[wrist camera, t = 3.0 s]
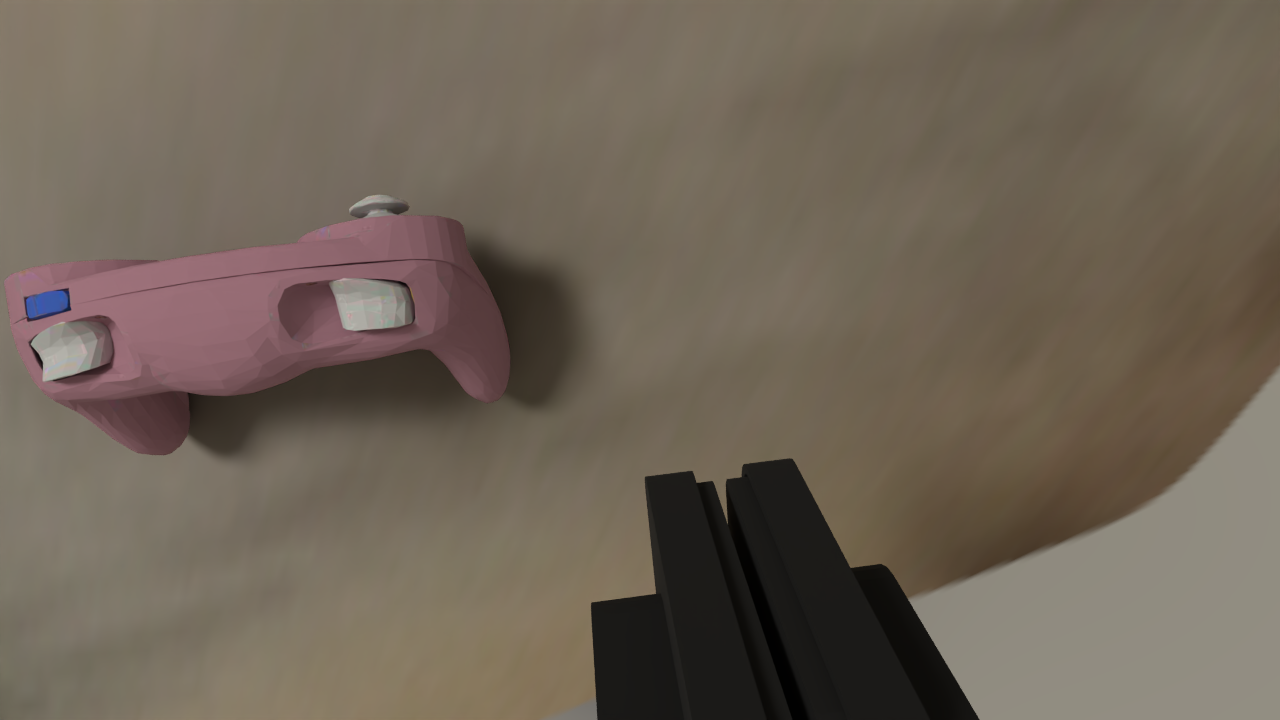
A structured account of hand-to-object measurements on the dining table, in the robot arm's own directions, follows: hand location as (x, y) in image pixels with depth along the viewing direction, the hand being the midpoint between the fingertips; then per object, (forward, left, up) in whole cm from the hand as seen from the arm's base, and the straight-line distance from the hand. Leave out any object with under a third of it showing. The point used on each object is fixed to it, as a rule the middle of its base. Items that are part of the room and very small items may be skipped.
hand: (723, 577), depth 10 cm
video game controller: (+8, 0, -13) cm, 16 cm away
